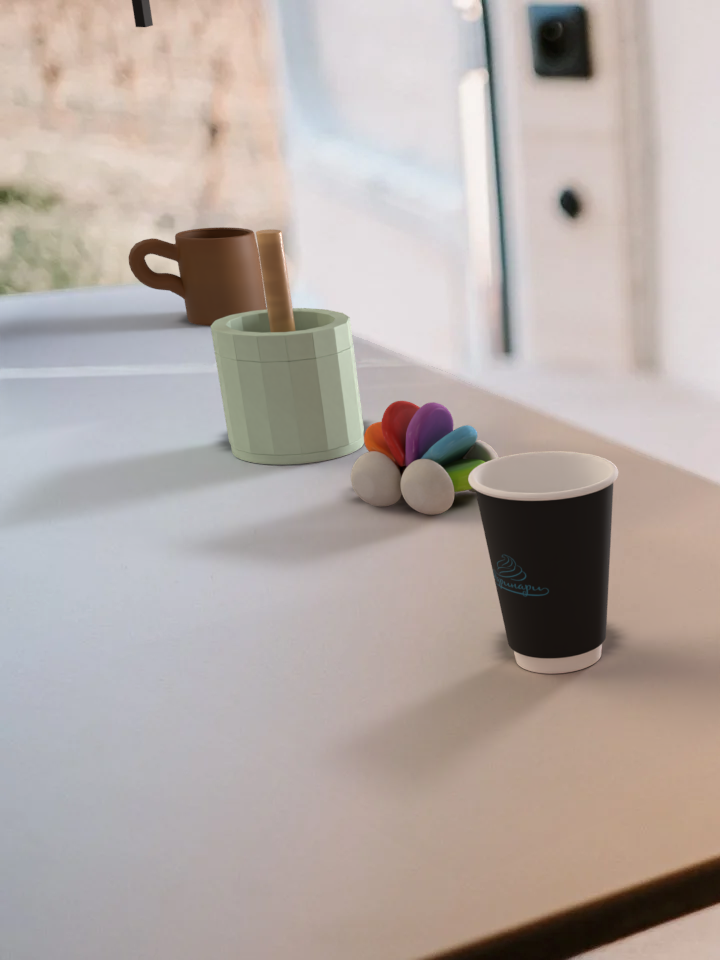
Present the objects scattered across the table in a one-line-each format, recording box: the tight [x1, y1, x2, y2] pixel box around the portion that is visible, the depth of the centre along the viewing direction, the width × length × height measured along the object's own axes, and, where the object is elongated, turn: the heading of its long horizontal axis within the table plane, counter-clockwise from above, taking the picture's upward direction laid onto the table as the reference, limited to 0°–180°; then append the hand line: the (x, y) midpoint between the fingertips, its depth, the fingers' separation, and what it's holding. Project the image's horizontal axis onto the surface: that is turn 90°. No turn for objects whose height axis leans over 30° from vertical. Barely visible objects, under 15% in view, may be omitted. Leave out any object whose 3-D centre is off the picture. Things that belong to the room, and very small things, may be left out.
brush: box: [255, 229, 296, 332], centre depth 124 cm, size 4×4×16 cm
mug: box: [128, 226, 267, 327], centre depth 163 cm, size 12×8×9 cm, turn 119°
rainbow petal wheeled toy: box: [350, 400, 500, 516], centre depth 115 cm, size 8×10×7 cm
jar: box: [210, 307, 365, 466], centre depth 126 cm, size 10×10×10 cm
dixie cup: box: [468, 450, 619, 675], centre depth 90 cm, size 8×8×11 cm
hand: (56, 24), depth 135 cm, fingers open, 13 cm apart
